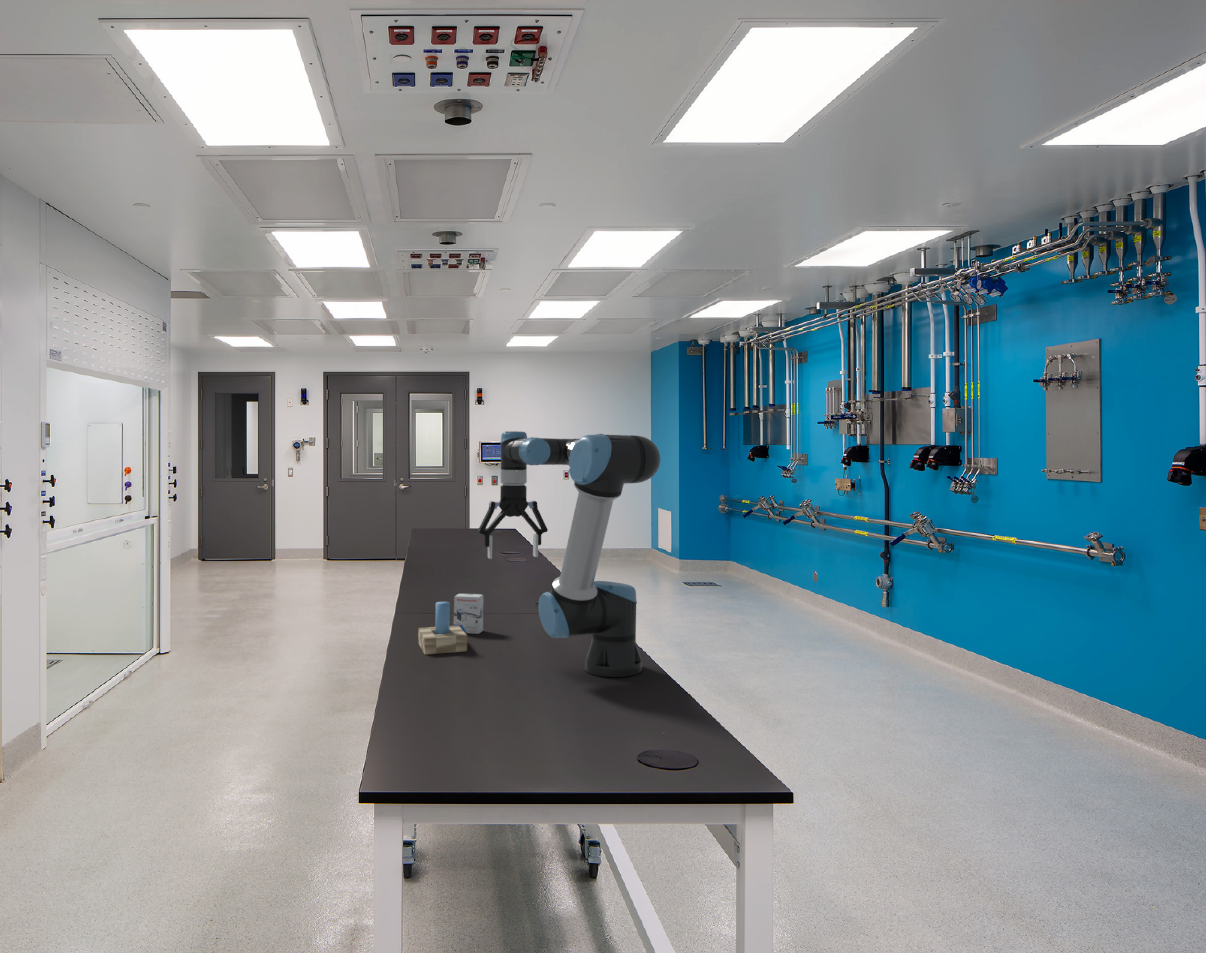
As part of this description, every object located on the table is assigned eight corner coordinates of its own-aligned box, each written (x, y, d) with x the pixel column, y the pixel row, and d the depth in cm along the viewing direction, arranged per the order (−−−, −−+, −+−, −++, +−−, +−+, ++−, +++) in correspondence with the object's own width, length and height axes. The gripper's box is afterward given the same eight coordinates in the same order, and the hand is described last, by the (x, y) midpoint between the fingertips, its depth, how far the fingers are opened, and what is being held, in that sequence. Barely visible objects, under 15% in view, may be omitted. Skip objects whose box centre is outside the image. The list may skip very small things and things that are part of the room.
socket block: (467, 651, 222) (467, 635, 222) (424, 654, 218) (424, 638, 218) (458, 640, 236) (458, 625, 235) (418, 643, 231) (418, 628, 231)
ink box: (452, 633, 245) (453, 596, 244) (457, 629, 250) (457, 593, 249) (479, 634, 244) (479, 597, 243) (483, 630, 249) (483, 594, 248)
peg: (450, 648, 226) (450, 603, 225) (436, 649, 224) (436, 604, 224) (448, 644, 230) (448, 601, 229) (434, 645, 228) (434, 602, 228)
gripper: (550, 483, 233) (550, 554, 233) (468, 484, 224) (467, 557, 224) (558, 484, 226) (557, 557, 226) (473, 485, 217) (472, 560, 217)
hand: (512, 557), depth 225 cm, fingers open, 13 cm apart
